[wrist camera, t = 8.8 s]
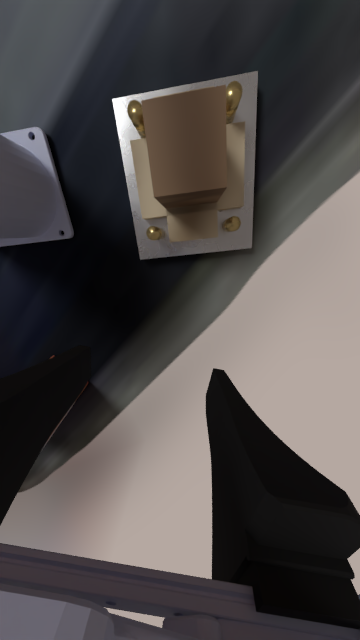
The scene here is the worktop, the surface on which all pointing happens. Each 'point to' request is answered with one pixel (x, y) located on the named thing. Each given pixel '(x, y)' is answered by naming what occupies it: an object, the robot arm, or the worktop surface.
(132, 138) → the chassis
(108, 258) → the worktop surface
